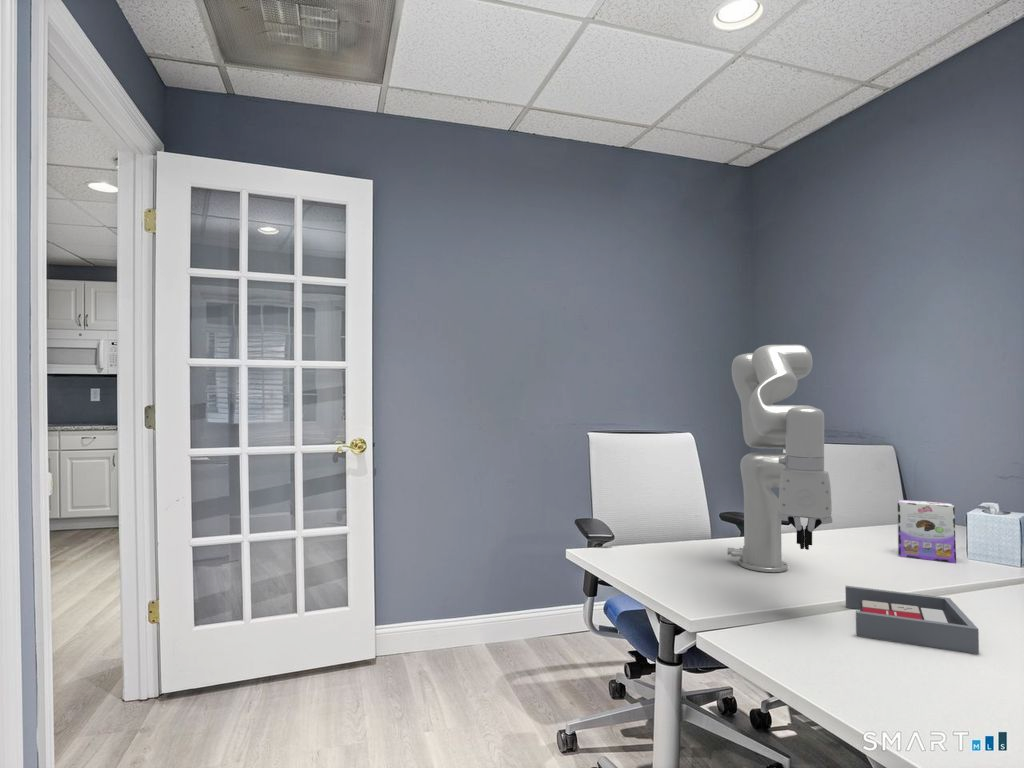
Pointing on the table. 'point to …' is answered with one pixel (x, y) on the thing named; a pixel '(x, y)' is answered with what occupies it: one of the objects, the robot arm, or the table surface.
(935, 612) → the dark long red-fronted box
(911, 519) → the candy box
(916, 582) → the table surface
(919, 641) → the box
